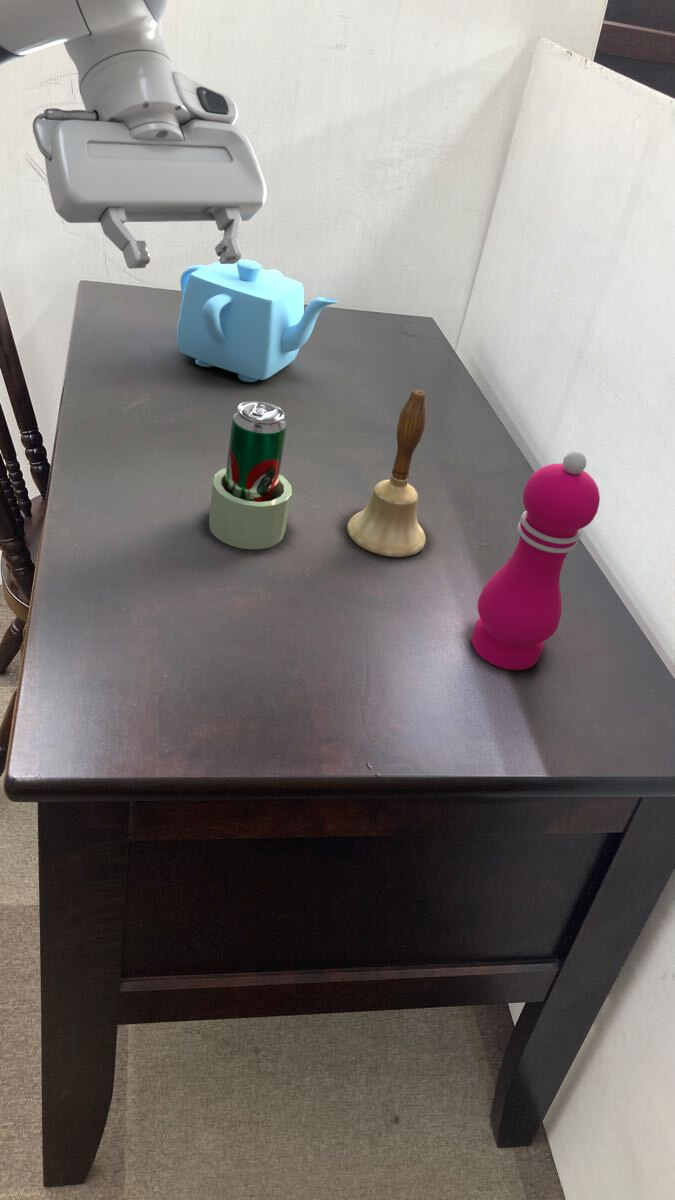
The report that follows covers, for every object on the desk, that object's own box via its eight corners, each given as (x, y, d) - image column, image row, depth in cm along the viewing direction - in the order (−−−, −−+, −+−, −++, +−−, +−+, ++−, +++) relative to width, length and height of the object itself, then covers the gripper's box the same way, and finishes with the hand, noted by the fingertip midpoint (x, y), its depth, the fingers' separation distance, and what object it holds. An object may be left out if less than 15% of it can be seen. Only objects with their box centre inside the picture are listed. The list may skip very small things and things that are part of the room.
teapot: (184, 387, 112) (193, 280, 104) (166, 334, 124) (173, 235, 116) (322, 393, 118) (341, 292, 110) (292, 343, 130) (307, 249, 122)
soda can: (278, 517, 90) (296, 409, 83) (259, 540, 86) (276, 429, 79) (233, 501, 91) (247, 393, 84) (212, 524, 87) (224, 412, 80)
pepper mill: (550, 680, 78) (634, 483, 66) (470, 668, 78) (541, 467, 66) (536, 628, 84) (611, 439, 72) (461, 617, 83) (526, 424, 72)
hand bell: (356, 556, 88) (390, 409, 79) (339, 511, 95) (369, 370, 85) (434, 559, 91) (476, 416, 81) (413, 514, 97) (450, 377, 87)
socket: (224, 554, 85) (230, 509, 82) (197, 511, 90) (202, 467, 87) (296, 544, 88) (304, 501, 85) (267, 504, 93) (273, 462, 90)
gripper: (36, 83, 71) (90, 249, 71) (249, 100, 83) (295, 243, 83) (15, 130, 76) (66, 285, 76) (218, 140, 88) (261, 274, 88)
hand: (187, 263), depth 80 cm, fingers open, 8 cm apart
